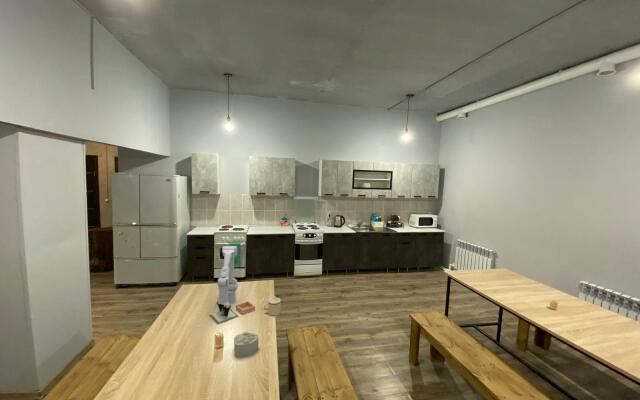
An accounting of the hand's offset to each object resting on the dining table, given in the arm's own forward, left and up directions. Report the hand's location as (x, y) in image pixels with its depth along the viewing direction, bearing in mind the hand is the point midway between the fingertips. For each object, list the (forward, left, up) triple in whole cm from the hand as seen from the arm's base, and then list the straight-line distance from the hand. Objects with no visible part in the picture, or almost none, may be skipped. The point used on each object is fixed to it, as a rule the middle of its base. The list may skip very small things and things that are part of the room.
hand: (223, 313), depth 185 cm
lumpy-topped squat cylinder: (+42, -5, -2) cm, 42 cm away
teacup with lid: (+17, +28, -2) cm, 33 cm away
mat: (0, 0, -2) cm, 2 cm away
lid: (0, 0, -2) cm, 2 cm away
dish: (+2, +15, -2) cm, 15 cm away
